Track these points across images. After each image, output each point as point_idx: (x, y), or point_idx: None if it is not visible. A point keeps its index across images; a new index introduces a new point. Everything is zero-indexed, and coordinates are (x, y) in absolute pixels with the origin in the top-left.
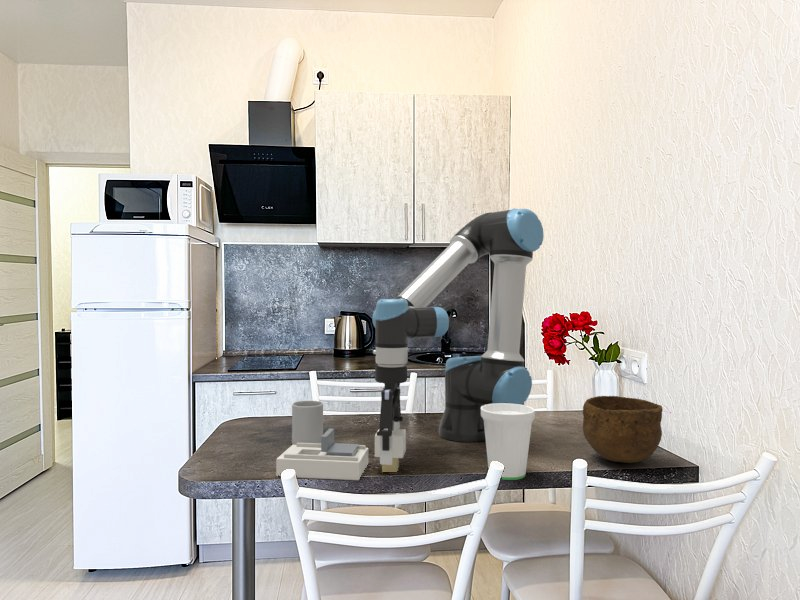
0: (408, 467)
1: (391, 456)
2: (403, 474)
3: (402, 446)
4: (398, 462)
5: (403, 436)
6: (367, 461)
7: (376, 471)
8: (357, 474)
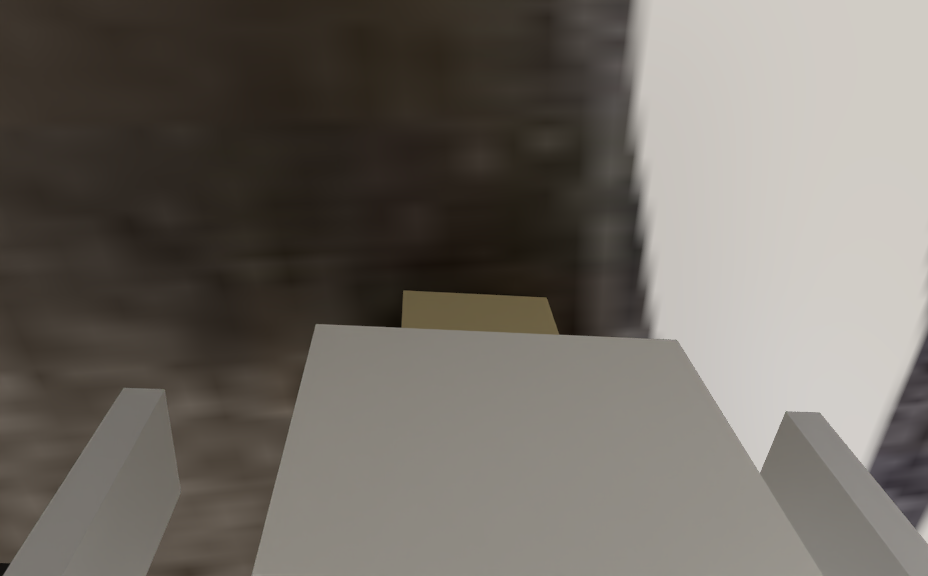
0: (355, 201)
1: (868, 483)
2: (584, 239)
3: (740, 445)
4: (433, 328)
5: (703, 552)
6: None
7: None
8: None
